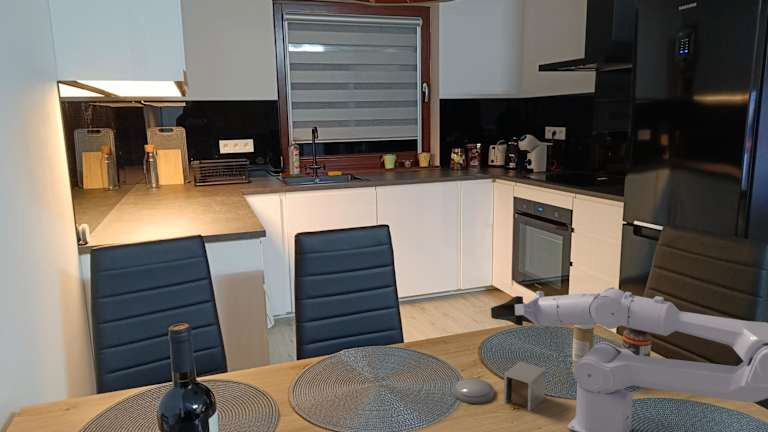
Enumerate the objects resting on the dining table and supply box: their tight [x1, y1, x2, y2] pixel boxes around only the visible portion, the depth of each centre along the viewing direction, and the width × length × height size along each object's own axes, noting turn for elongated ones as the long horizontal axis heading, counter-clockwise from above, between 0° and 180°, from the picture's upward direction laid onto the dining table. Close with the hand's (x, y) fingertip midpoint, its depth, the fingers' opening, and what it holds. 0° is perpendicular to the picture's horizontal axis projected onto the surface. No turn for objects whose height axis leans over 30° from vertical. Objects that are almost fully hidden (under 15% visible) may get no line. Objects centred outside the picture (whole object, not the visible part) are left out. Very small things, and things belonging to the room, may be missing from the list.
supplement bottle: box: [621, 327, 652, 357], centre depth 124 cm, size 6×6×11 cm
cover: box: [503, 361, 546, 412], centre depth 112 cm, size 6×7×6 cm
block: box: [510, 379, 528, 408], centre depth 112 cm, size 4×4×5 cm
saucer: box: [451, 378, 495, 405], centre depth 116 cm, size 9×9×1 cm
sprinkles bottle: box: [571, 324, 596, 373], centre depth 122 cm, size 5×5×14 cm
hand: (502, 314), depth 112 cm, fingers open, 7 cm apart
